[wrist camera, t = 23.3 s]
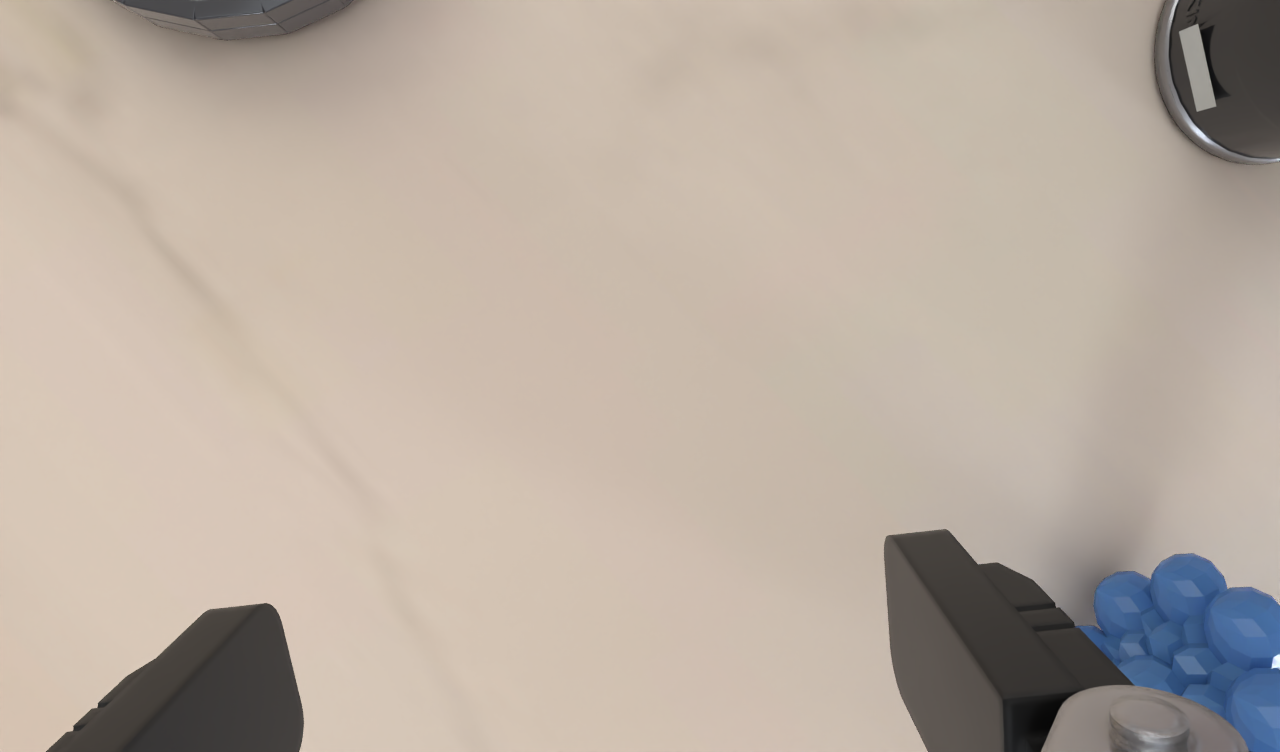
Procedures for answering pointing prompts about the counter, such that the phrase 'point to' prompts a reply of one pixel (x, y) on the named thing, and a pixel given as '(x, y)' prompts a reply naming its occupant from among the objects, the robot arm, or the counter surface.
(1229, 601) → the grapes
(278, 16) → the pan
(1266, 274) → the counter surface
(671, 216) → the counter surface
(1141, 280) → the counter surface
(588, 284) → the counter surface
